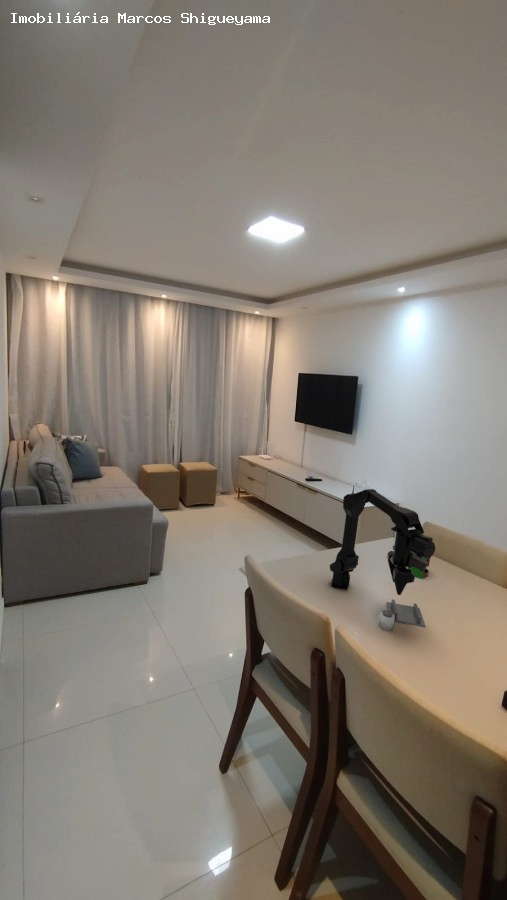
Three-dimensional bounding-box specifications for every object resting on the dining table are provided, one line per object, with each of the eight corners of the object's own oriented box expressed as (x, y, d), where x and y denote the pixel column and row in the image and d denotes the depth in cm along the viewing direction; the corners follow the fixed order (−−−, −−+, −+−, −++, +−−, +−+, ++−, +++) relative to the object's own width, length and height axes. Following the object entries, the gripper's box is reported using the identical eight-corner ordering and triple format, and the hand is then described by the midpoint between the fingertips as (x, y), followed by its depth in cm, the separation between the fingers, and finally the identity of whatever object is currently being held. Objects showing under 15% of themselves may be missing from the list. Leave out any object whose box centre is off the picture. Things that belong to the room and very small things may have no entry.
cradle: (389, 620, 145) (390, 614, 145) (386, 603, 157) (387, 597, 157) (425, 627, 143) (426, 620, 143) (419, 609, 155) (420, 603, 154)
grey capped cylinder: (378, 629, 140) (380, 614, 139) (377, 621, 144) (379, 606, 143) (393, 632, 139) (396, 617, 138) (392, 623, 143) (394, 609, 143)
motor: (430, 580, 180) (437, 537, 176) (409, 576, 182) (416, 534, 178) (425, 570, 190) (432, 529, 186) (405, 567, 191) (412, 526, 188)
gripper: (434, 561, 130) (426, 606, 133) (421, 540, 148) (415, 579, 151) (398, 555, 132) (391, 600, 134) (389, 535, 150) (384, 575, 153)
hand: (396, 588), depth 143 cm, fingers open, 9 cm apart
